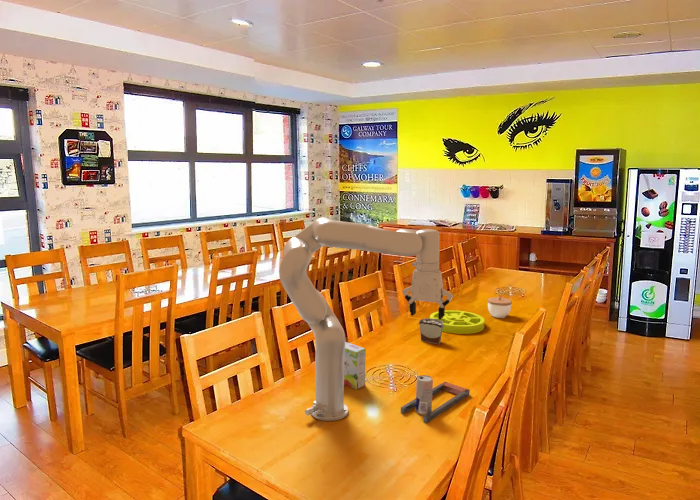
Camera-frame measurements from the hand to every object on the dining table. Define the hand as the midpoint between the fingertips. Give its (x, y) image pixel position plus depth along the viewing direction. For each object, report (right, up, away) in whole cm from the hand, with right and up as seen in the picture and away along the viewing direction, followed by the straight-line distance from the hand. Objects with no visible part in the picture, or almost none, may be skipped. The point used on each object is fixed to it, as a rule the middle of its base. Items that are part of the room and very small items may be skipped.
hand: (426, 316), depth 173 cm
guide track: (+4, -31, +7) cm, 32 cm away
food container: (+13, -21, +70) cm, 74 cm away
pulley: (+29, -17, +94) cm, 100 cm away
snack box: (-29, -28, +26) cm, 48 cm away
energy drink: (-1, -33, +1) cm, 33 cm away
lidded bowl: (+56, -14, +111) cm, 125 cm away
